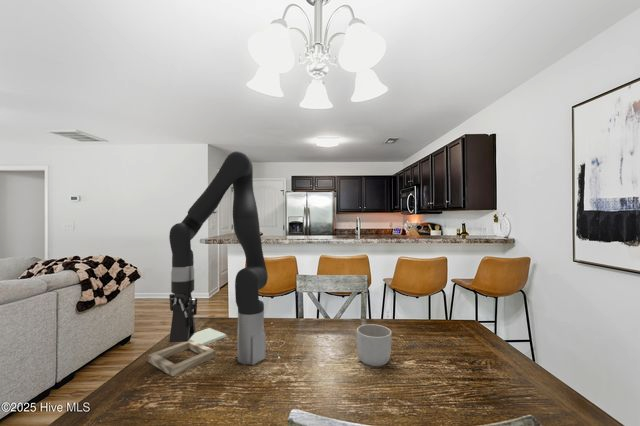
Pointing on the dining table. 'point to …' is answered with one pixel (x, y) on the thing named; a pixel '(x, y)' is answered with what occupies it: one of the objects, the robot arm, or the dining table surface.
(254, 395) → the dining table surface
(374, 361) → the planter
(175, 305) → the phone stand
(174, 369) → the pocket holder
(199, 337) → the sage mat
